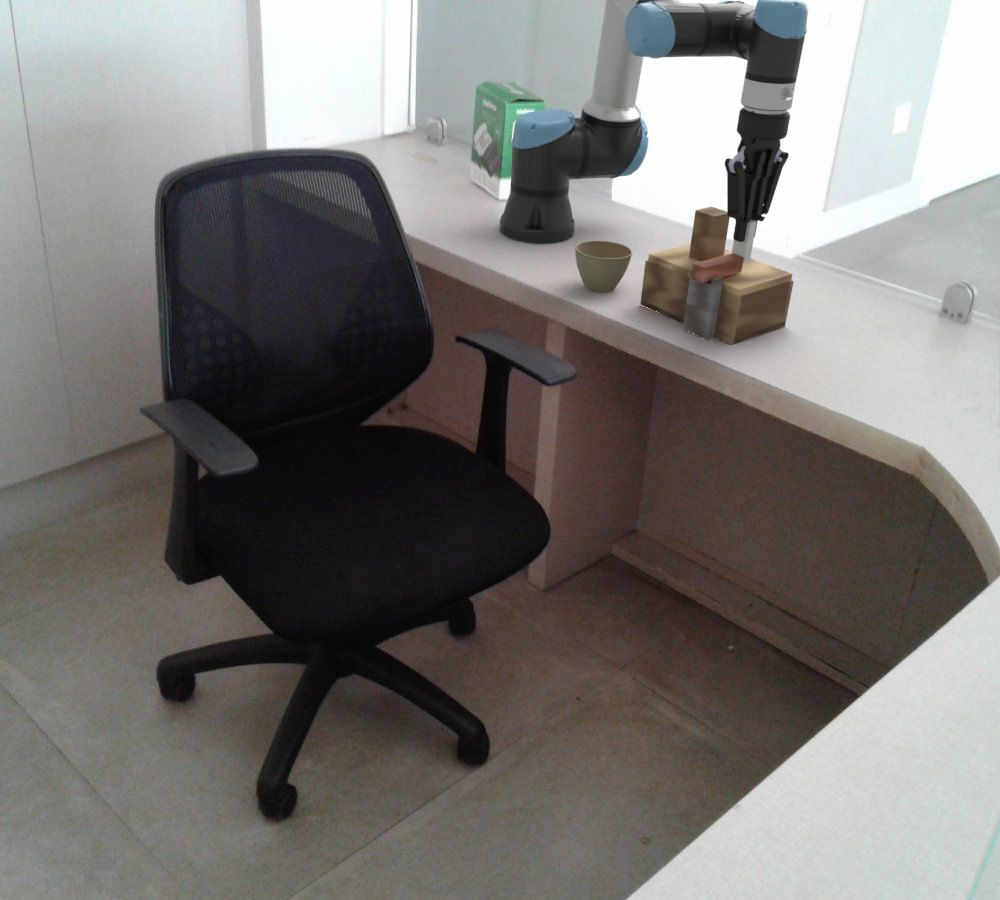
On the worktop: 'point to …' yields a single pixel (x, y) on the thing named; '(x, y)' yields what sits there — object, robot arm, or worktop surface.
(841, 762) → the worktop surface
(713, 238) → the wooden block with peg
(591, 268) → the flower pot
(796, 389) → the worktop surface
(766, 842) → the worktop surface
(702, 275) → the reddish brown rectangular block
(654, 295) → the brown wooden box
